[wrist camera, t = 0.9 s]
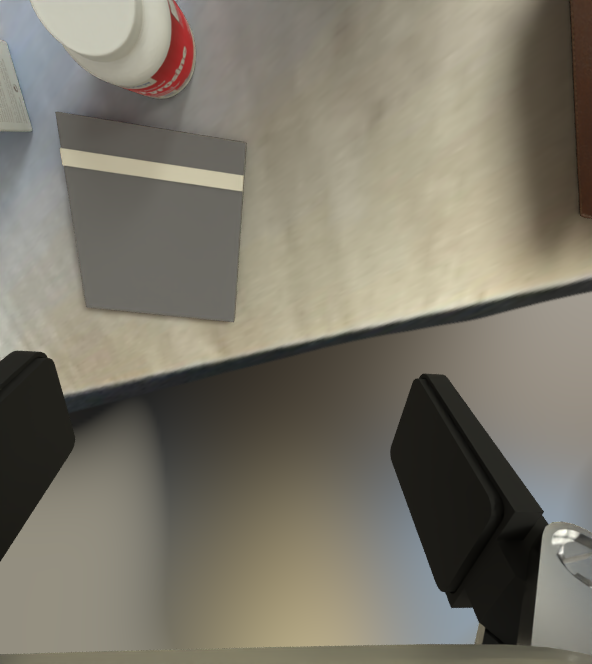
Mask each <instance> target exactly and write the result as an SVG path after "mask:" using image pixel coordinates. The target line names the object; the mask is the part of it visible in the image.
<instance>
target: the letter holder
mask: <svg viewBox="0 0 592 664" xmlns="http://www.w3.org/2000/svg"><path fill="white" fill-rule="evenodd" d="M570 10H571V11H570V13H571V32H572V54H573V80H574V101H575V126H576V140H577V144H576V145H577V150H576V151H577V161H578V162H577V166H578V183H579V205H580V216H582V217H584V218H591V219H592V0H570Z"/></svg>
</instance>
